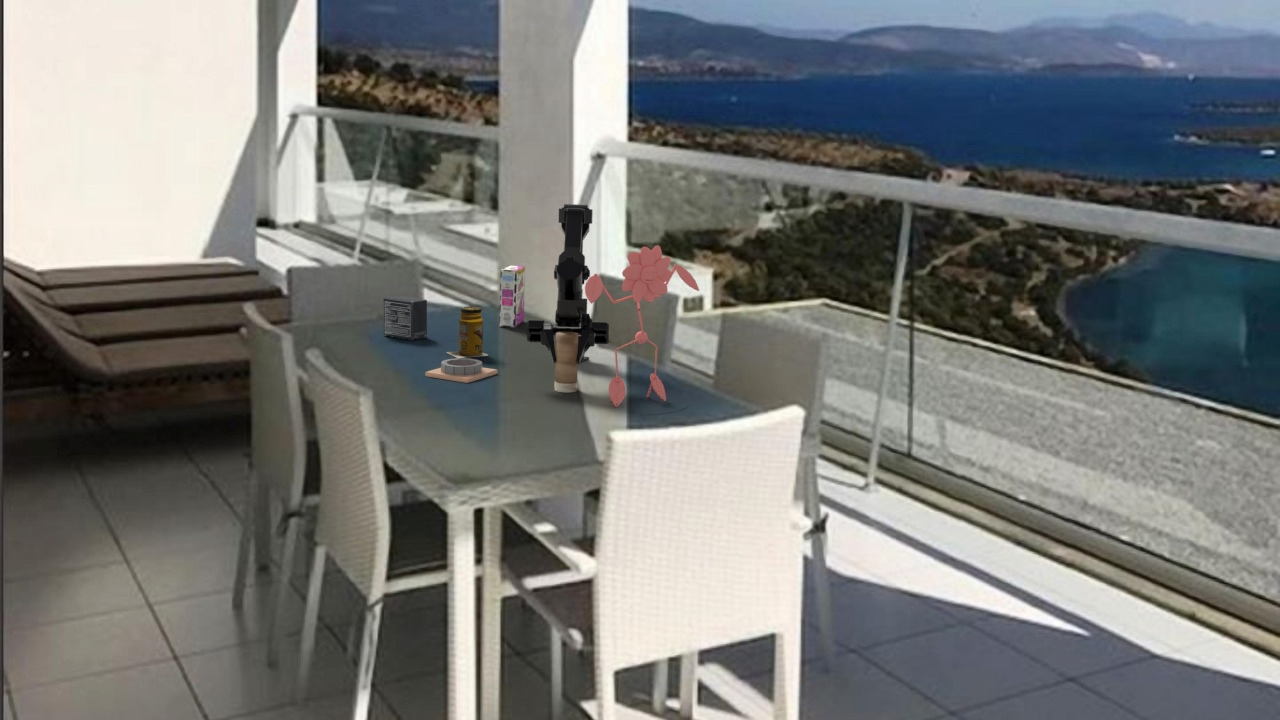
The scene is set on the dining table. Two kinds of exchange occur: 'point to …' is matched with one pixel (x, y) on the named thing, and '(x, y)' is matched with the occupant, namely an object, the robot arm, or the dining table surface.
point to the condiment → (470, 333)
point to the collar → (461, 370)
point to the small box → (405, 317)
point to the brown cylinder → (566, 362)
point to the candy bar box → (512, 296)
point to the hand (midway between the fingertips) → (566, 362)
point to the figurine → (644, 283)
